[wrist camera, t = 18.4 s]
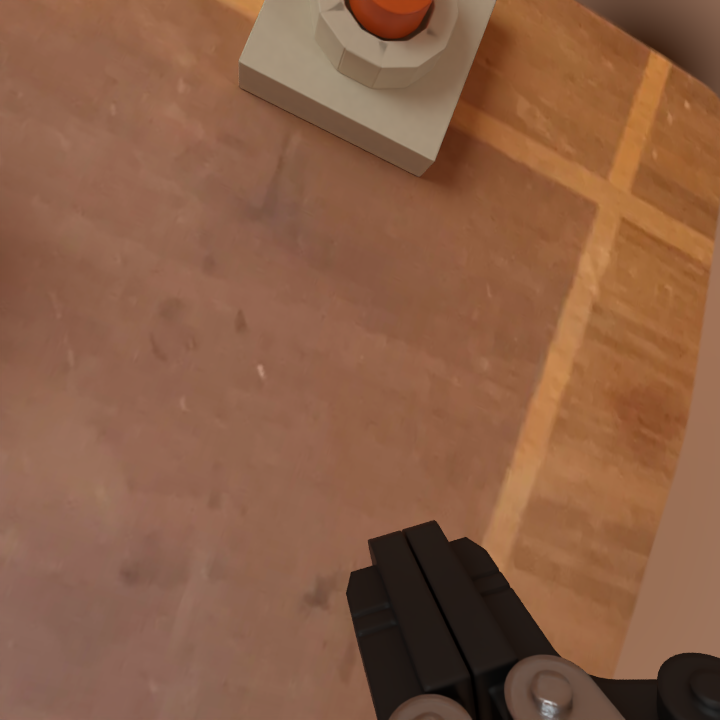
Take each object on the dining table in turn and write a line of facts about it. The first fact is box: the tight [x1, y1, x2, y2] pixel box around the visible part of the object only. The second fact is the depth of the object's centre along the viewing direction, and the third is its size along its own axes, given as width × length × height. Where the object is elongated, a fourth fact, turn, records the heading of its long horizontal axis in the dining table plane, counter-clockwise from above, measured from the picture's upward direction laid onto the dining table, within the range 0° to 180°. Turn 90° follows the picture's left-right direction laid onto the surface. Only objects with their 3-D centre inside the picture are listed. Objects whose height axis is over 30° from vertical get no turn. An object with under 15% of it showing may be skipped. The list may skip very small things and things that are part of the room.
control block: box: [239, 0, 496, 177], centre depth 24 cm, size 10×10×4 cm
